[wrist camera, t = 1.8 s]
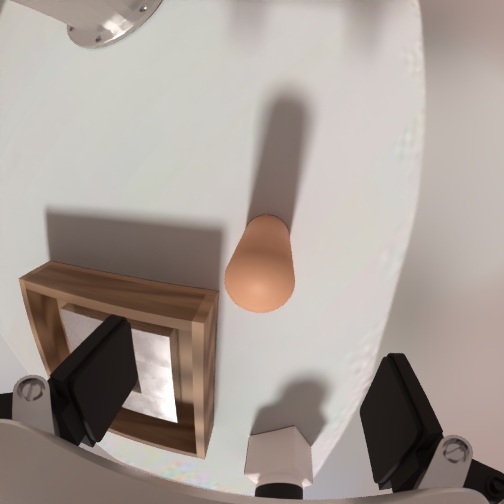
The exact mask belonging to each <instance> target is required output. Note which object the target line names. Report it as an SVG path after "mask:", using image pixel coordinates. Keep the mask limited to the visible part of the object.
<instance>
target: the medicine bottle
mask: <svg viewBox="0 0 504 504" xmlns="http://www.w3.org/2000/svg"><path fill="white" fill-rule="evenodd" d="M244 475H245V476H247V477H248V478H249V479H250V480H252V481H253V482H254V483H255V484H256V490H255V497H262V498H275V499H295V500H303V487H304V486H309V485H312V484H313V473H312V453H311V447H310V446H309V444H308V443H307V442H306V440H305V439H304V437H303V436H302V435H301V433H300V432H299V430H298V429H297V428H296V427H295V426H292V427H288V428H284V429H280V430H275V431H271V432H266V433H262V434H257V435H252V436H250V437H249V441H248V448H247V456H246V463H245V470H244Z"/></svg>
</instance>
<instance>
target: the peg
mask: <svg viewBox="0 0 504 504" xmlns="http://www.w3.org/2000/svg"><path fill="white" fill-rule="evenodd" d="M224 282H225V288H226V291H227V293H228V295H229V296H230V298H231V299H232V300H233V301H234V302H235V303H236V304H237V305H238V306H240V307H241V308H243V309H245V310H248V311H251V312H257V313H265V312H270V311H273V310H276V309H278V308H279V307H281V306H282V305H284V304H285V303H286V302H287V301H288V299H289V298H290V297H291V295H292V293H293V290H294V285H295V277H294V268H293V260H292V252H291V244H290V236H289V231H288V228H287V226H286V225H285V223H284V222H283V221H282V220H281V219H279V218H278V217H276V216H273V215H261V216H258V217H256V218H254V219H253V220H252V221H250V223H249V224H248V225H247V227H246V229H245V231H244V233H243V235H242V237H241V240H240V242H239V244H238V246H237V248H236V250H235V252H234V254H233V256H232V258H231V260H230V262H229V264H228V266H227V268H226V271H225V276H224Z"/></svg>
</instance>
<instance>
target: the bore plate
mask: <svg viewBox="0 0 504 504" xmlns="http://www.w3.org/2000/svg"><path fill="white" fill-rule="evenodd" d="M60 309H61V314H62V318H63V322H64V327H65V331H66V334H67V338H68V342H69V345H70V349H71V352H73V351H74V350H75V349H76V348H77V347H78V346H79V345H80V344H81V343H82V342H83V341H84V340H85V339H86V338H87V337H88V336H89V335H90V334H91V333H92V332H93V331H94V330H95V329H96V328H97V327H98V326H99V325H100V324H101V323H102V322H103V321H104V320H105V319H106V318H107V317H108V316H109V315H111V314H109V313H105V312H101V311H98V310H94V309H90V308H87V307H83V306H79V305H76V304H73V303H69V302H68V303H67V304H65V305H64V306H63V307H62V308H60ZM126 319H127V321H128V322H130V324H131V330H132V338H133V345H134V352H135V359H136V365H137V371H138V376H139V378H138V380H137V383H136V385H135V386H134V388H133V390H132V391H131V393H130V394H129V396H128V398H127V399H126V401H125V402H124V404H123V406H122V407H124V408H127V409H130V410H133V411H136V412H139V413H143V414H146V415H149V416H153V417H157V418H160V419H164V420H168V421H172V422H176V423H177V422H178V420H179V417H180V414H181V412H182V400H181V387H180V373H179V357H178V335H177V329H176V328H171V327H166V326H161V325H156V324H152V323H147V322H143V321H138V320H134V319H129V318H126Z"/></svg>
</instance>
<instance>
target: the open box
mask: <svg viewBox="0 0 504 504" xmlns="http://www.w3.org/2000/svg"><path fill="white" fill-rule="evenodd" d="M19 282H20V287H21V291H22V296H23V300H24V304H25V308H26V312H27V315H28V319H29V322H30V326H31V329H32V333H33V336H34V339H35V342H36V345H37V348H38V351H39V354H40V356H41V359H42V362H43V364H44V367H45V370H46V372H47V375H48V377H49V378H50V376H49V375H50V374H51V373H52V372H53V371H54V370H55V369H56V368H57V367H58V366H59V365H60V364H61V363H62V362H63V361H64V360H65V359H66V358H67V357H68V356H69V355H70V354H71V353H72V352H71V349H70V345H69V342H68V338H67V334H66V331H65V327H64V322H63V318H62V314H61V309H60V308H62V307H63V306H64V305H65V304H67V303H68V302H69V303H73V304H76V305H79V306H83V307H87V308H90V309H94V310H98V311H101V312H105V313H109V314H115V315H119V316H123V317H125V318H129V319H134V320H138V321H143V322H147V323H152V324H156V325H161V326H166V327H171V328H176V329H177V335H178V357H179V373H180V387H181V400H182V412H181V414H180V417H179V420H178V422H177V423H176V422H172V421H168V420H164V419H160V418H157V417H153V416H149V415H146V414H143V413H139V412H136V411H133V410H130V409H127V408H124V407H121V409H120V410H119V412H118V414H117V415H116V417H115V419H114V420H113V422H112V424H111V425H110V427H109V428H108V430H107V431H109V432H112V433H114V434H117V435H120V436H122V437H125V438H128V439H131V440H134V441H137V442H140V443H143V444H146V445H150V446H153V447H156V448H160V449H164V450H167V451H171V452H175V453H179V454H183V455H188V456H192V457H197V458H201V459H205V456H206V453H207V449H208V445H209V441H210V437H211V433H212V429H213V410H214V377H215V351H216V330H217V310H218V293H219V291H213V290H206V289H200V288H193V287H187V286H181V285H175V284H168V283H162V282H157V281H151V280H145V279H139V278H134V277H128V276H123V275H118V274H112V273H107V272H102V271H97V270H92V269H87V268H82V267H77V266H72V265H68V264H63V263H58V262H54V261H49V262H47V263H45V264H43V265H42V266H40V267H38V268H36V269H34V270H33V271H31V272H29V273H27V274H26V275H24V276H22V277H20V278H19ZM138 378H139V376H138Z"/></svg>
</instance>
